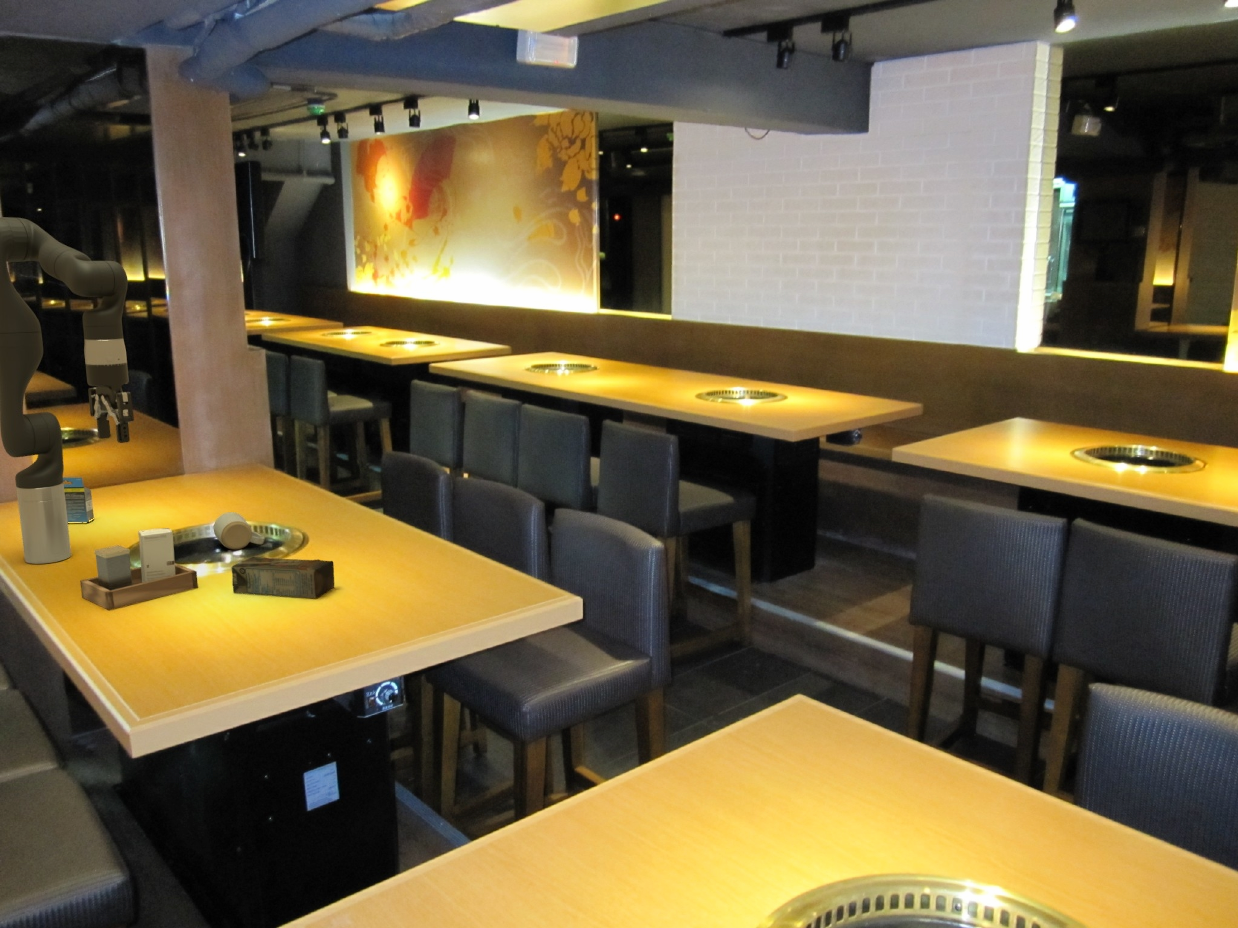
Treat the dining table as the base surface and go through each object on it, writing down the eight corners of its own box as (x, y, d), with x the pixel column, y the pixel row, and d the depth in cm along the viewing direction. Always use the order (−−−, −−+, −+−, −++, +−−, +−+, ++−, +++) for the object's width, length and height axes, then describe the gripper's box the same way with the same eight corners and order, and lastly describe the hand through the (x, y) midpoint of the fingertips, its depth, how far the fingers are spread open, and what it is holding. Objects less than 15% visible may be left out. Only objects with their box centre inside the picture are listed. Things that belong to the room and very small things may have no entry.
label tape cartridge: (95, 520, 261) (90, 474, 259) (87, 524, 258) (82, 477, 255) (60, 520, 261) (55, 474, 259) (52, 524, 257) (47, 477, 255)
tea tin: (99, 598, 200) (94, 550, 198) (123, 592, 203) (118, 545, 201) (110, 603, 197) (105, 554, 195) (134, 597, 200) (129, 549, 198)
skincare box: (145, 593, 203) (140, 535, 201) (142, 587, 207) (136, 530, 204) (178, 588, 206) (173, 531, 204) (174, 582, 210) (169, 526, 208)
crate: (81, 597, 200) (80, 580, 200) (169, 576, 214) (167, 560, 213) (109, 610, 193) (107, 592, 192) (197, 587, 207) (196, 571, 206)
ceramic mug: (221, 553, 232) (220, 520, 230) (214, 544, 238) (212, 513, 237) (268, 547, 237) (267, 515, 236) (259, 539, 244) (258, 508, 243)
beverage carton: (253, 582, 211) (251, 552, 210) (337, 588, 207) (335, 558, 206) (231, 594, 203) (229, 563, 202) (318, 601, 199) (316, 569, 198)
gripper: (141, 362, 201) (148, 441, 204) (109, 358, 210) (116, 434, 213) (103, 365, 195) (111, 446, 198) (71, 360, 204) (79, 438, 207)
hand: (114, 440), depth 205 cm, fingers open, 8 cm apart
